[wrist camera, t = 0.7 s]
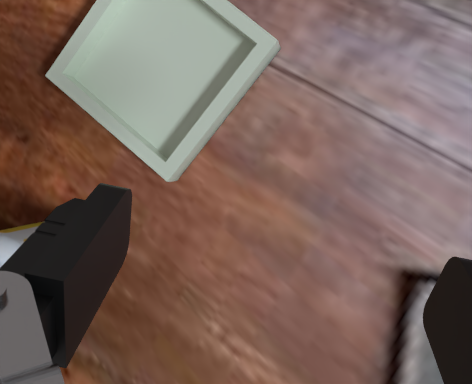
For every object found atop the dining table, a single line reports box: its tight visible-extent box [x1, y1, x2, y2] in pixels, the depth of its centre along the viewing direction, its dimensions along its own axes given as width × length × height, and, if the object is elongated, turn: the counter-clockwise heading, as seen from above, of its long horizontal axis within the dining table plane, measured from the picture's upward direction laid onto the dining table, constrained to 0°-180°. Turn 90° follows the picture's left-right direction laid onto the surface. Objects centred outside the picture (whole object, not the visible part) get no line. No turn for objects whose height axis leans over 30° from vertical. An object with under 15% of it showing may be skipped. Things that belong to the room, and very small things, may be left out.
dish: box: [45, 0, 281, 182], centre depth 32 cm, size 12×12×2 cm
